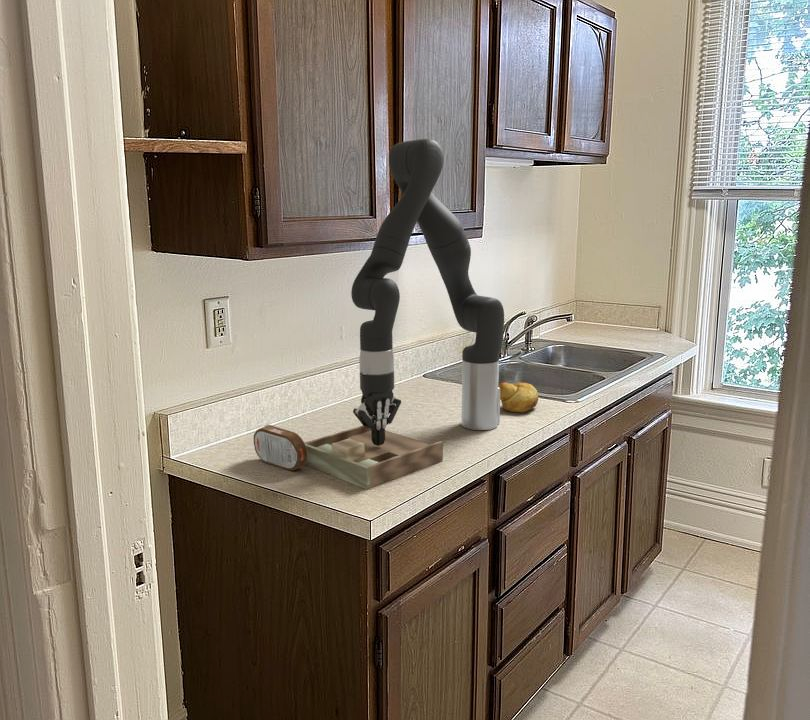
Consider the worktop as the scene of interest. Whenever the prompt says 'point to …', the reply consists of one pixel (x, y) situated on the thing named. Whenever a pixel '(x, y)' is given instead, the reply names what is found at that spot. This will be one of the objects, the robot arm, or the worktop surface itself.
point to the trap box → (373, 457)
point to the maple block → (349, 449)
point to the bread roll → (518, 396)
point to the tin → (280, 447)
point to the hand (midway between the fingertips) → (378, 444)
